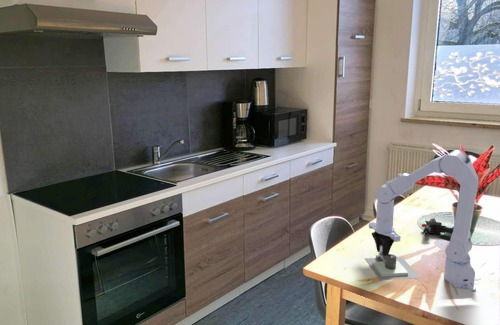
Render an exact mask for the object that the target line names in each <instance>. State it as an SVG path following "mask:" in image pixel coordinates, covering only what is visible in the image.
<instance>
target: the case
mask: <svg viewBox="0 0 500 325" xmlns="http://www.w3.org/2000/svg"><path fill="white" fill-rule="evenodd" d="M364 261H366V262H367V264H368V266H369V267H370V268H371V269H372V271H373V272H374V274H375V275H376V277H377V278H378V280H381V281H383V280H402V279H403V280H405V279H406V280H407V279H422V278H421V276H420V275H419V273H417V271H415V270H414V268H413V267H411V265H410V264H409V263H408V262H407V261H406V259H404V257H403V256H396V261H399V263H400V264H401V265H402V266H403V267H404V268H405V269H406V271H407V272H408V275H405V276H384V277H382V276H381V274H380V273H379V272H378V270H377V269H376V268H375V266H374V265H373V262H382V261H383V260H382V259H381V258H380V256H379V254H378V255H375V257H369V258H364Z"/></svg>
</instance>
